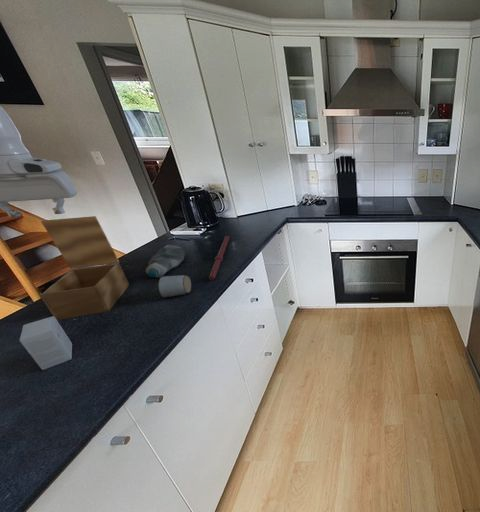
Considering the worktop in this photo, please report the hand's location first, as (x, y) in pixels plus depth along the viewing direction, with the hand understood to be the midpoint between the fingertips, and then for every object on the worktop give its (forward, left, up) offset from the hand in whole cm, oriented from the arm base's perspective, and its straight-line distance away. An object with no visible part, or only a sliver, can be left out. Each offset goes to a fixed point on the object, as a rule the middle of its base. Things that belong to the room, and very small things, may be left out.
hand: (38, 215), depth 79 cm
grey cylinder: (+25, +1, -34) cm, 42 cm away
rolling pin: (+37, +28, -34) cm, 57 cm away
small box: (+2, -24, -34) cm, 42 cm away
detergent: (+16, +25, -34) cm, 45 cm away
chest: (-1, +5, -34) cm, 34 cm away
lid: (-1, +13, -14) cm, 19 cm away
